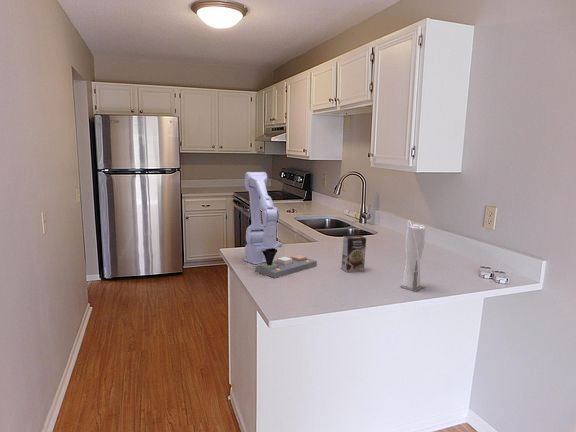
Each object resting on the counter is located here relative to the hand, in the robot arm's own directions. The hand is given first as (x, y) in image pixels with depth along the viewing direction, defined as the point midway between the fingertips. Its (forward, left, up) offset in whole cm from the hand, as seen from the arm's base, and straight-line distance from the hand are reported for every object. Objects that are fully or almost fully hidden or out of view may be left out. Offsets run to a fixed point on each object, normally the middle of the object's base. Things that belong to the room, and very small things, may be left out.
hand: (269, 264), depth 182 cm
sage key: (0, 0, -3) cm, 3 cm away
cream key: (0, +10, -2) cm, 10 cm away
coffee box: (+23, +32, -4) cm, 40 cm away
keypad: (+1, +10, -3) cm, 11 cm away
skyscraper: (+53, +31, -4) cm, 62 cm away
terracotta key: (0, +20, -3) cm, 20 cm away
